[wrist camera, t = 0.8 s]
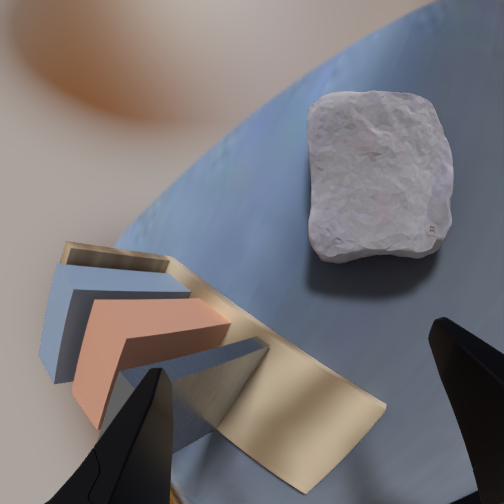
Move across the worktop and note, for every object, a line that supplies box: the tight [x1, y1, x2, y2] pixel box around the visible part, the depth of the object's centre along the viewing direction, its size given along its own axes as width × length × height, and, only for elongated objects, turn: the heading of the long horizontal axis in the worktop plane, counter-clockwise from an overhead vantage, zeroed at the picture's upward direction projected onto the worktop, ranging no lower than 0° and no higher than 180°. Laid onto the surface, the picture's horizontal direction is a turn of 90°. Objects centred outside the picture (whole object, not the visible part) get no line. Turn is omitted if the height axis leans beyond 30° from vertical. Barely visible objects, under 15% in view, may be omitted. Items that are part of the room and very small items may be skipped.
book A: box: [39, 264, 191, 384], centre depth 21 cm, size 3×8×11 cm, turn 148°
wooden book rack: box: [60, 241, 387, 494], centre depth 18 cm, size 22×10×11 cm, turn 59°
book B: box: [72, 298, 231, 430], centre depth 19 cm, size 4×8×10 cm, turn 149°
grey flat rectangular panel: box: [98, 336, 270, 454], centre depth 16 cm, size 1×9×12 cm, turn 148°
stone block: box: [307, 91, 454, 264], centre depth 18 cm, size 12×5×10 cm
